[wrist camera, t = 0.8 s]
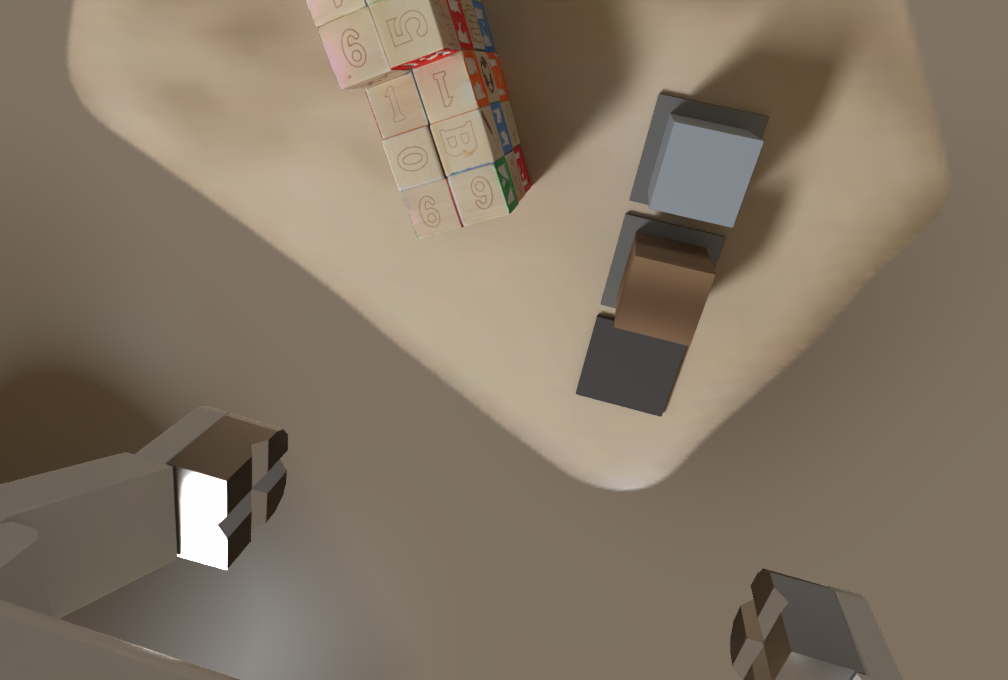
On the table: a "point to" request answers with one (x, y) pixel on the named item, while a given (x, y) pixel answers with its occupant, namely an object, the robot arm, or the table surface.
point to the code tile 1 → (656, 229)
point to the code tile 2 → (691, 110)
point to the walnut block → (663, 288)
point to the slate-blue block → (703, 170)
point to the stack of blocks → (431, 103)
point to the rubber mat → (629, 368)
